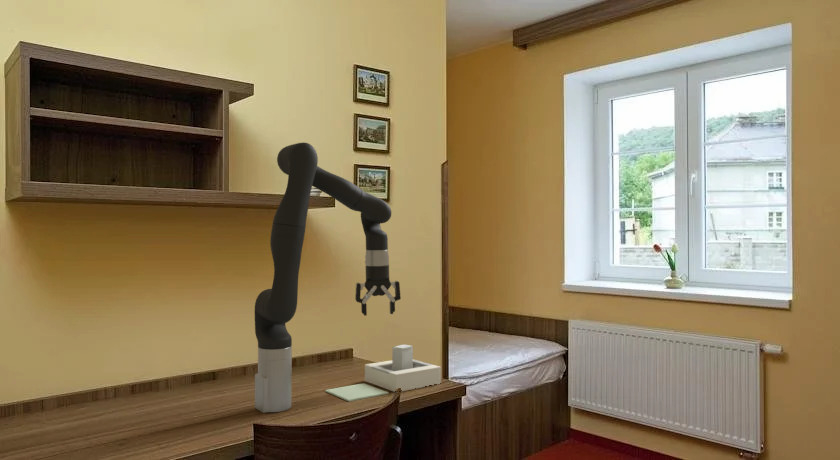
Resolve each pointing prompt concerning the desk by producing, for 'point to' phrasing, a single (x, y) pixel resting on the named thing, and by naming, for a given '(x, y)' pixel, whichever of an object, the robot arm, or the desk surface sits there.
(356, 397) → the place mat
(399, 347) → the skincare box
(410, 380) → the access box
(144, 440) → the desk surface
